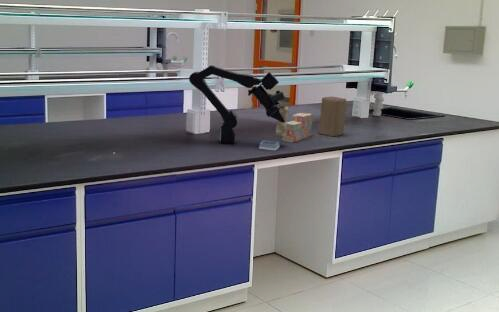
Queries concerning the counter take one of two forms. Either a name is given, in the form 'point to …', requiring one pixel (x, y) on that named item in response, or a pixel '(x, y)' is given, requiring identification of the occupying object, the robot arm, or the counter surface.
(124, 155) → the counter surface
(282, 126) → the maple pillar block
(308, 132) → the stack of blocks
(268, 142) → the blue square tray
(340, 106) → the block
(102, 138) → the counter surface
